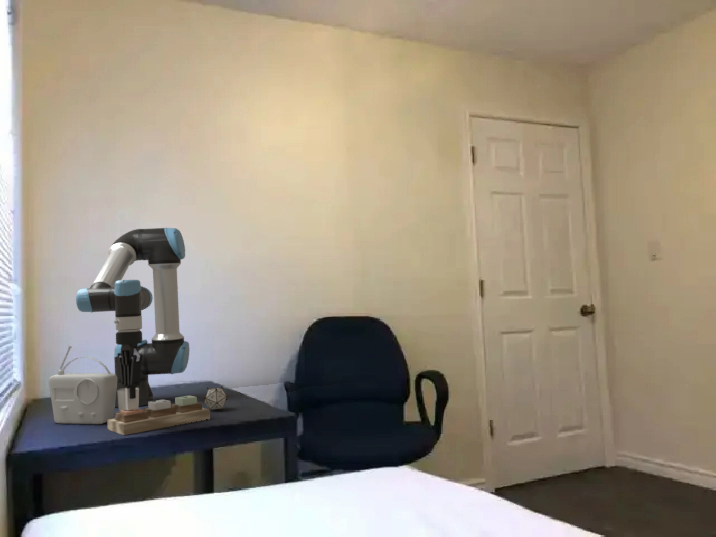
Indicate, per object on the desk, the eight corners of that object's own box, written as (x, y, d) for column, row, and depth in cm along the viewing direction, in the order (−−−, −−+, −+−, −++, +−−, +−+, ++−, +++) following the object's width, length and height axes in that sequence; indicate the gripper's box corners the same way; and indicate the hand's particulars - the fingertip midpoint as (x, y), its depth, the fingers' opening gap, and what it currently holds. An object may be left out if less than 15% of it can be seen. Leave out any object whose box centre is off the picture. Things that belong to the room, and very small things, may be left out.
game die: (219, 422, 221) (220, 401, 216) (197, 413, 223) (197, 392, 218) (232, 404, 229) (233, 384, 223) (210, 396, 230) (211, 375, 225)
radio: (45, 424, 210) (43, 346, 210) (63, 419, 218) (61, 344, 218) (103, 426, 204) (101, 345, 205) (120, 420, 212) (118, 343, 213)
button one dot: (175, 405, 209) (175, 397, 209) (189, 403, 213) (189, 395, 213) (182, 407, 206) (182, 398, 206) (197, 404, 209) (196, 396, 209)
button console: (107, 429, 198) (107, 412, 198) (191, 414, 217) (191, 399, 217) (123, 435, 189) (123, 417, 189) (210, 419, 208) (209, 403, 208)
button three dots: (120, 418, 197) (119, 410, 197) (136, 416, 201) (135, 407, 201) (126, 420, 194) (126, 412, 194) (143, 418, 197) (142, 409, 197)
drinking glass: (115, 420, 211) (114, 389, 212) (136, 417, 215) (135, 387, 216) (121, 423, 206) (120, 391, 206) (142, 420, 210) (141, 389, 210)
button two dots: (148, 409, 203) (148, 401, 203) (163, 407, 207) (163, 399, 207) (155, 411, 200) (155, 403, 200) (170, 409, 203) (170, 400, 203)
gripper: (108, 331, 200) (110, 408, 199) (125, 332, 190) (127, 413, 190) (132, 329, 205) (134, 405, 204) (150, 330, 195) (152, 409, 195)
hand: (131, 409), depth 197 cm, fingers closed
